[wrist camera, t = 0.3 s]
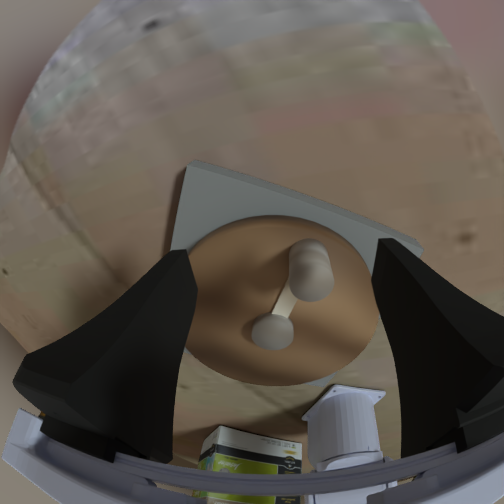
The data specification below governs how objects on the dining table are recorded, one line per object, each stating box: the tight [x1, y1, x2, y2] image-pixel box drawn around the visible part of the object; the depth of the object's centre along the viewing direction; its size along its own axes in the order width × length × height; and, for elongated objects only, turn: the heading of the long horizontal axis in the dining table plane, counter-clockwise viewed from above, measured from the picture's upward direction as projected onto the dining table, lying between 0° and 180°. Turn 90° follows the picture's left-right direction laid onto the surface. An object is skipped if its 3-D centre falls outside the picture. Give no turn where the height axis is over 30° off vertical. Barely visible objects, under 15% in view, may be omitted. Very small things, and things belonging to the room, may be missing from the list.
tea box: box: [192, 425, 302, 504], centre depth 34 cm, size 15×10×15 cm, turn 66°
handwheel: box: [185, 215, 379, 386], centre depth 20 cm, size 16×16×5 cm
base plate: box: [170, 160, 424, 387], centre depth 23 cm, size 18×18×2 cm
